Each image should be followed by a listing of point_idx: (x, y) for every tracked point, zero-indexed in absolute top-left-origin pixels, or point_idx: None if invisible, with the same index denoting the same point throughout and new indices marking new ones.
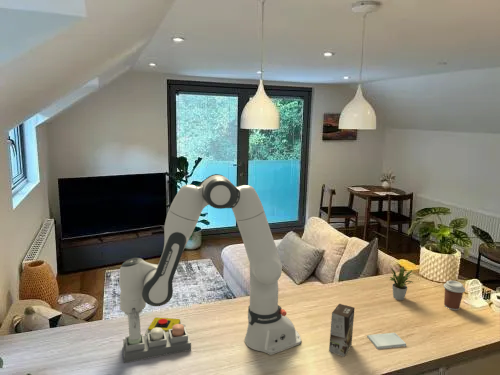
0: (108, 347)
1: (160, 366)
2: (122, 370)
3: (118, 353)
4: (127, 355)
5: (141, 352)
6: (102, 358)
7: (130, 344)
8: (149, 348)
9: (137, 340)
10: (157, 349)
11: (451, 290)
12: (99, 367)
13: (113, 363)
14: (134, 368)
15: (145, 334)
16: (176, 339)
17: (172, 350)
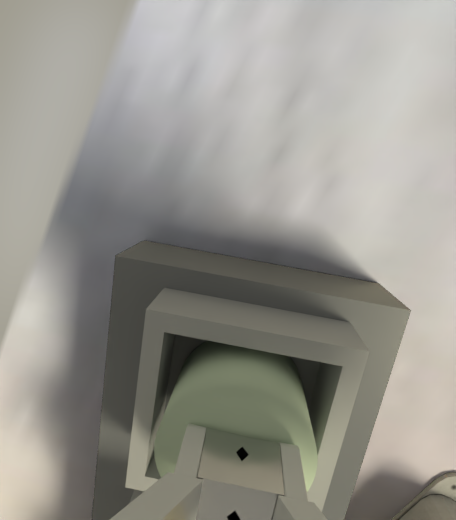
0: (450, 155)
1: (7, 443)
2: (55, 208)
3: (299, 223)
4: (116, 285)
5: (103, 403)
6: (298, 71)
7: (195, 362)
8: (125, 474)
9: (160, 460)
10: (92, 516)
11: None
12: (172, 25)
13: (175, 157)
14: (46, 293)
15: (446, 478)
16: None
17: None
